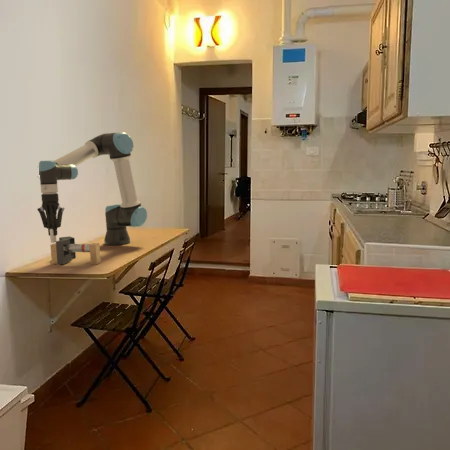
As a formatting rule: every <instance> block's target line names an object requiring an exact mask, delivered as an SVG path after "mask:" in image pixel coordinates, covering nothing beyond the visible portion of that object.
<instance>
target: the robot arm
mask: <svg viewBox="0 0 450 450" xmlns="http://www.w3.org/2000/svg"><path fill="white" fill-rule="evenodd" d="M133 148H134V141H133V139H132V137H131V136H130V135H129V134H128V133H127V132H119V131H117V132H110V133H109V132H107V133H102V134H99V135H97V136H94V137H93V138H91V139H90V140H87V141H86V142H85V143H84V144H83V145H82V146H79V147H78V148H76V149H74V150H72V151H70V152H68V153H66V154H65V155H63V156H61V157H58V158H57V159H55V160H40V161H39V162H38V167H39V175H40V178H39V181H40V182H39V184H40V193H41V196H40V197H41V202H42V203H41V206H40V207H38V208H36V209H37V212H38V213H39V215H40V218H41V221H42V225H43V228H44V229H47V231H48V232H47V233H48V236H49V238H50V243H51V244H54V243H56V241H57V236H58V228H60V227H62V221H63V220H62V219H63V214H64V211H65V207H63V206H61V205H60V203H59V201H60V200H59V194H58V192H59V187H58V181H67V180H70V181H71V180H75V179H76V178H77V177H78V175H79V169H78V167H77V166H79V165H81V164H82V163H84V162H86V161H87V160H90V159H91V158H94V159H96V158H97V157H100V156H105V155H106V156H107V155H108V156H109V159H110V160H111V161H112V162H113V165H114V170H115V175H116V180H117V184H118V189H119V193H120V198H121V203H120V204H112V205H106V207H105V213H104V214H105V227H106V228H105V229H106V231H105V236H104V240H103V241H104V245H106V246H118V245H119V246H120V245H127V244H130V243H131V237H130V235H129V233H128V230H127V227H129V228H130V227H131V228H140V227H143V225H144V224H145V223H146V221H147V219H148V211H147V209H146V208H145V207H144V206H142V202H141V201H140V200H138V197H137V192H136V186H135V181H134V178H133V172H132V166H131V162H130V158H131V156H132V154H131V153H132V152H133V150H134V149H133Z"/></svg>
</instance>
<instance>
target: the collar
mask: <svg viewBox="0 0 450 450" xmlns="http://www.w3.org/2000/svg"><path fill="white" fill-rule="evenodd" d="M55 243H56V251H57V263H58V264H57V265H65V264H67V263H69V262H71V261H72V259H71V252H64V248H63V245H65V244H70V239H62V240H59V239H58V240H56V242H55Z"/></svg>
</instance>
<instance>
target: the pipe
mask: <svg viewBox="0 0 450 450" xmlns="http://www.w3.org/2000/svg"><path fill="white" fill-rule="evenodd" d="M63 248H64V252H75V253H89V254H90V265H98V264H101V262H102V261H101V249H100V243H99V242H94V243H75V244H65V245H63ZM50 255H51V256H50V257H51V265H59V264H58V263H57V251H56V242H54V243H51V244H50Z"/></svg>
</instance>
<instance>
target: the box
mask: <svg viewBox="0 0 450 450" xmlns="http://www.w3.org/2000/svg"><path fill="white" fill-rule="evenodd" d="M62 239H70V244H76V243H75V242H76V241H75V237H74V236H73V237H72V236H61V237H59V238H58V241H59V240H62ZM76 254H77V252H71V260H72V259H76V258H77V257H76Z"/></svg>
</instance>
